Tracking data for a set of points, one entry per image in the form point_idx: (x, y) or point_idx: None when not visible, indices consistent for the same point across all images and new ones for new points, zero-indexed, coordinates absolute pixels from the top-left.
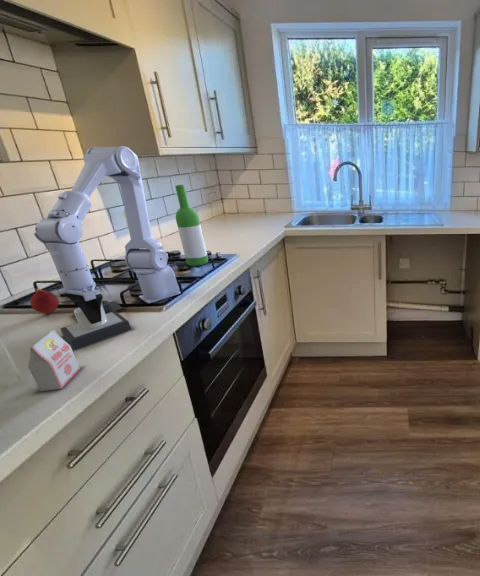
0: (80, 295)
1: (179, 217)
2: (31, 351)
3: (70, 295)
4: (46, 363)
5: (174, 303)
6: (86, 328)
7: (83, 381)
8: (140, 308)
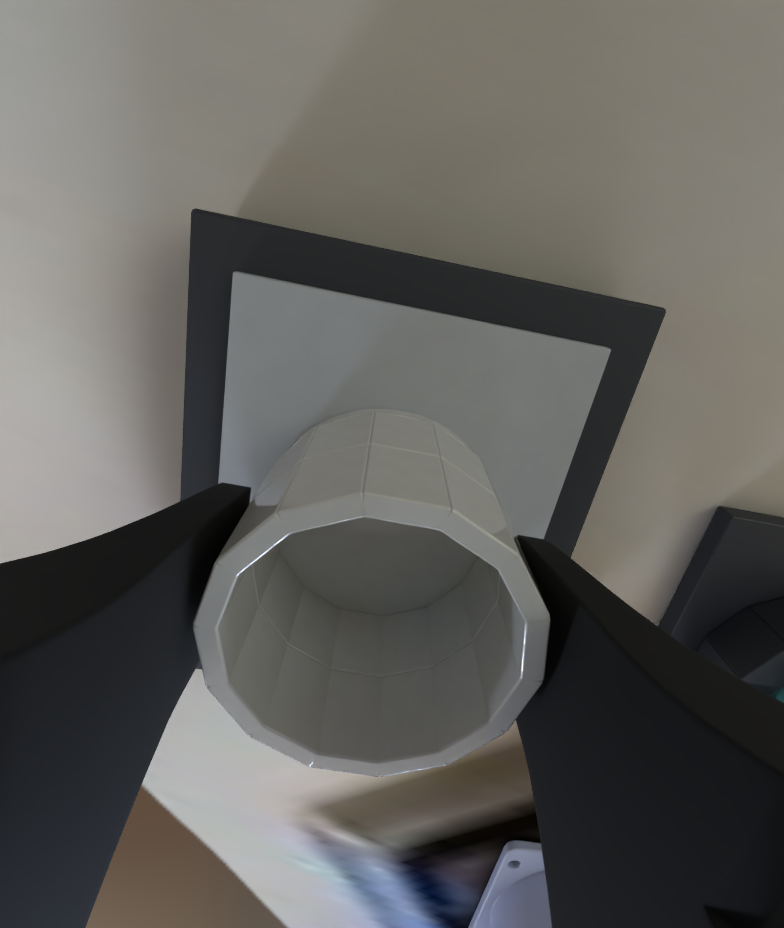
0: (626, 859)
1: None
2: None
3: (729, 818)
4: None
5: (357, 885)
6: (311, 429)
7: None
8: (505, 787)
